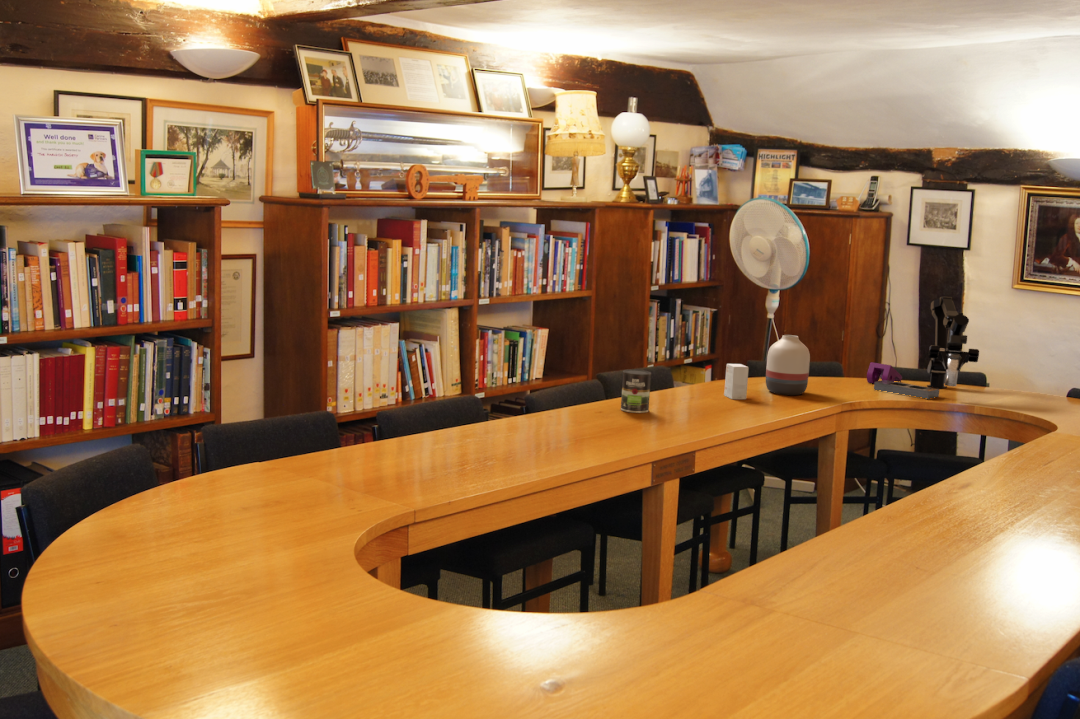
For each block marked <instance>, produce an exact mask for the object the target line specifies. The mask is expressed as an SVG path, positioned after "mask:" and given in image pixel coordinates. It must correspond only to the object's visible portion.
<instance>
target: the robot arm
mask: <svg viewBox="0 0 1080 719" xmlns="http://www.w3.org/2000/svg"><path fill="white" fill-rule="evenodd" d="M930 311H931V316H932V317H933V318H934V319H933V320H935V333H934V335H935V337H934V338H935V340H934V341H935V342H934V345H932V344H931V345H930V346H929V351H928V358H929V359H930V360H929V362H928V365H927V374H929V375H930V383H929V384H927V385H926V387H930V388H936V389H939V390H941V389H946V388H948V386H947V385H945V377H946V369H947V359H948V353H956V354H960V359H959V367H958V372H960V370H961V369H962V367H963V366H964V365H965V364H968V363H969V362H970V363H971V362H972V363H977V362H979V357H980V350H979V349H977V348H968V350H967V351H963V345H967V343H968V335H965V334H964V333H965V332H966V329H967V327H968V325H969V322H970V319H969V317H967V316H966V315H965V314H964V313H963V312H958V311H957V309H956V306H955V303H954V298H953V297H952V296H940V297H939V298H937V299H936V298H935V299H933V301H931V303H930ZM947 329H948V330H947Z"/></svg>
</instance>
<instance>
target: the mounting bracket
mask: <svg viewBox="0 0 1080 719" xmlns="http://www.w3.org/2000/svg"><path fill="white" fill-rule="evenodd" d="M880 378H881V381H883V380H888V381H900V383H902V379H903V376H902V375H901V374H900V372H898V371H897V370H896V368H894V366H892V365H891V364H884V363H877V362H870V363H869V366H868V369H867V372H866V381H867V383H868V384H871V383H873V384H872V385H874V382H877V381H880Z"/></svg>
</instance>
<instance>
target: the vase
mask: <svg viewBox="0 0 1080 719" xmlns="http://www.w3.org/2000/svg"><path fill="white" fill-rule="evenodd" d="M781 336H782V337H781V338H780V339H778V340H777V341H776V342H774V343H773V344H771V346H770V347H769V349H768V352H767V355H766V356H767V357H766V369H765V370H766V371H765V387H766V389H767V390H768V391H769V392H771V393H774V394H776V395H782V396H799V395H802V394H804V393H805V392H806V390H807V387H808V382H809V375H810V366H811V365H810V361H811V354H810V351H809V350H810V349H809V348H808V347H807V346H806V345H805V344H804V343H803V342H802V341H801V340H800V339H799V336H798V335H792V334H784V335H783V334H782V335H781Z"/></svg>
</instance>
